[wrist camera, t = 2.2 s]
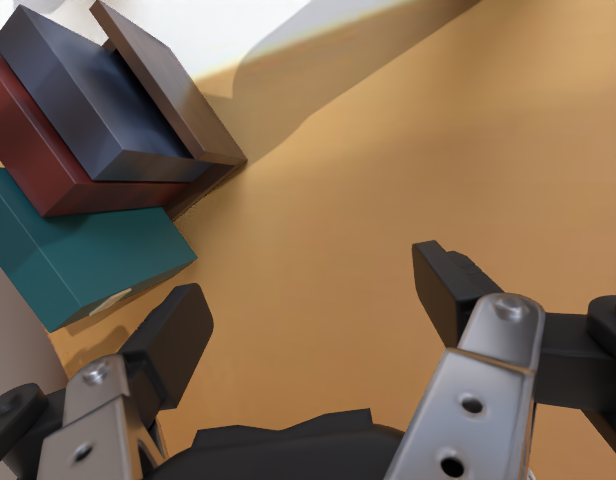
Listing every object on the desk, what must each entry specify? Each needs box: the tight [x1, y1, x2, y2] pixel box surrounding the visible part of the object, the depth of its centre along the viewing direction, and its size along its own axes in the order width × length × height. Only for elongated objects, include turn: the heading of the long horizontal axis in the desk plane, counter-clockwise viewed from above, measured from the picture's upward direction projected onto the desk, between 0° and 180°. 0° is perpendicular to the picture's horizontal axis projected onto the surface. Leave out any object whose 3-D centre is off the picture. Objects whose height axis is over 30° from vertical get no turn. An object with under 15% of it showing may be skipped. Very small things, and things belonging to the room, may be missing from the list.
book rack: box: [0, 0, 248, 222], centre depth 29 cm, size 15×17×15 cm
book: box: [0, 167, 198, 333], centre depth 29 cm, size 12×4×15 cm, turn 36°
